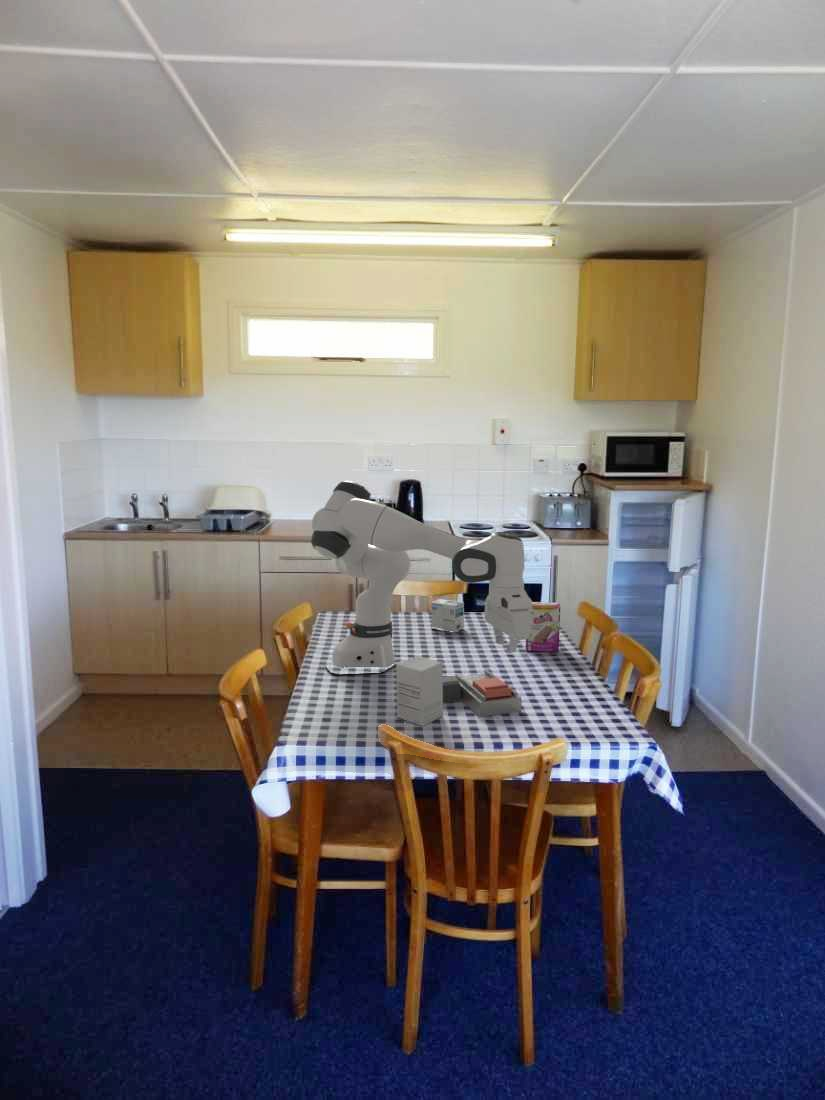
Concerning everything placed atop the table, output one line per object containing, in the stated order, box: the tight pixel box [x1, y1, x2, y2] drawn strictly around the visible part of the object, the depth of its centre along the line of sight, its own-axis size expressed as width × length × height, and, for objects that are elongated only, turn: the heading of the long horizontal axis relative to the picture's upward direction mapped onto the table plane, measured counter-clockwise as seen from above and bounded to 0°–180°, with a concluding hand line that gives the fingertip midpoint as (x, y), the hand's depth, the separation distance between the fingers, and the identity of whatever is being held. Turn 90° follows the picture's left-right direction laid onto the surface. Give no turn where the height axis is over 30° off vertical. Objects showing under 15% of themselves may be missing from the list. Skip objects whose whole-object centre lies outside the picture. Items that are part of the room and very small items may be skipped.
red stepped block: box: [473, 677, 512, 698], centre depth 206 cm, size 8×9×3 cm
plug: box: [443, 675, 462, 704], centre depth 212 cm, size 6×5×6 cm
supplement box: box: [395, 656, 444, 727], centre depth 198 cm, size 9×9×15 cm
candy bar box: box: [524, 601, 561, 653], centre depth 255 cm, size 11×5×16 cm, turn 84°
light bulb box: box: [430, 598, 465, 633], centre depth 282 cm, size 11×7×11 cm, turn 58°
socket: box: [454, 669, 522, 718], centre depth 211 cm, size 12×21×5 cm, turn 18°
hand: (505, 647), depth 196 cm, fingers open, 6 cm apart
